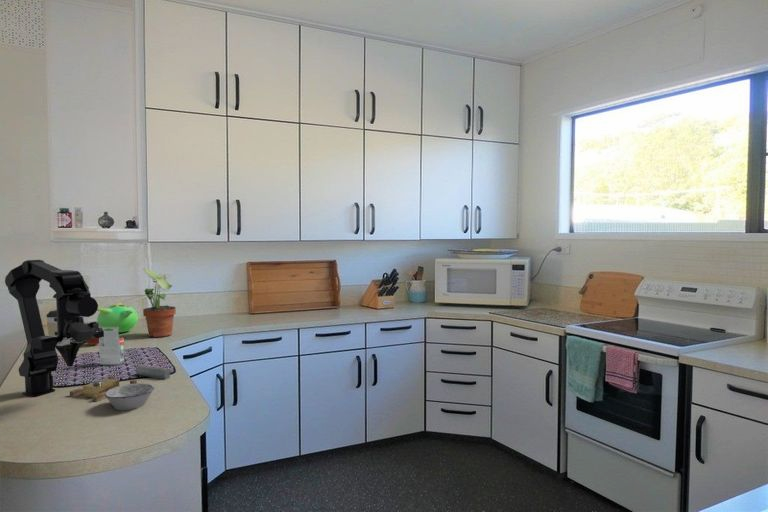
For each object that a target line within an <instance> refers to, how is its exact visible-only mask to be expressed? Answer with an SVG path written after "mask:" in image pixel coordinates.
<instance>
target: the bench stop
mask: <svg viewBox="0 0 768 512" xmlns="http://www.w3.org/2000/svg"><path fill="white" fill-rule="evenodd" d="M135 373H136V374H139V375H138V376H142V375H143V377H149V378H155V379H160V380H168V379H170V376H171V371H170V368H163V367H157V366H152V365H145V364H139V365H136V366H135Z"/></svg>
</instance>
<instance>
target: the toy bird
mask: <svg viewBox="0 0 768 512" xmlns="http://www.w3.org/2000/svg"><path fill="white" fill-rule="evenodd" d="M97 311H98V315H97V319H96V322H97V323H98V324H99V327H119V334H120V333H125V332H128V331H130V330H132V329H134V328H135V326H136V325H137V324H138V321H139V315H138V312H137V311H136V309H135V308H133V307H131V306H129V305H125V304H122V302H116V303H115V304H112V305H109V306H107V307H98V309H97ZM105 331H113V329H109V328H108V329H105Z"/></svg>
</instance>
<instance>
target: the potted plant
mask: <svg viewBox="0 0 768 512" xmlns="http://www.w3.org/2000/svg"><path fill="white" fill-rule="evenodd" d="M142 270H143V271H144V272H145V273H146V274H147V276H148V277H150V279H151V280H152V282H153V283H158V286H157V285H155V286H154V287H155V288H145V289H144V295H146V297H147V298H148V300H149V301H150V304H151V307H147V308H144V309H142V311H143V313H142V314H143V317H145V322H146V327H147V331H148V332H147V333H148V336H149V337H150V338H160V337H168V336H171V335H172V334H173V325H174V317H175V316H174V315H176V308H177V307H176V306H170V305H168V304H167V305H161V300H165V299H166V293H160V292H161V288H162V289H164V290H170V289H171V288H172V287H173V284H172V285H171V284H169V282H168V281H167V277H166V275H164V276H162V275H160V274H158V273H157V272H155V271H154V270H151V269H150V268H143V269H142Z"/></svg>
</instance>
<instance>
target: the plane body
mask: <svg viewBox="0 0 768 512" xmlns="http://www.w3.org/2000/svg"><path fill="white" fill-rule="evenodd" d="M107 379H115V376H114V375H109V376H107ZM137 383H138V381H137V379H131V380H129V384H137ZM80 395H83V386H82V387H79V388H77V389H76V388H75V389H72V390H70V391H69V397H76V396H80ZM105 399H107V397H106V396H105V392H103V393H100V394H97V395H94V396H93V397H92V401H93V402H99V401H102V400H105Z"/></svg>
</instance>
